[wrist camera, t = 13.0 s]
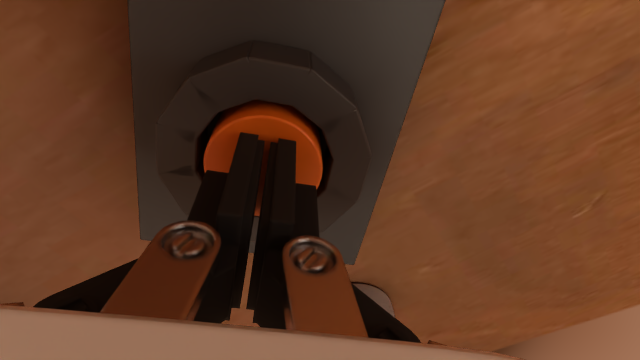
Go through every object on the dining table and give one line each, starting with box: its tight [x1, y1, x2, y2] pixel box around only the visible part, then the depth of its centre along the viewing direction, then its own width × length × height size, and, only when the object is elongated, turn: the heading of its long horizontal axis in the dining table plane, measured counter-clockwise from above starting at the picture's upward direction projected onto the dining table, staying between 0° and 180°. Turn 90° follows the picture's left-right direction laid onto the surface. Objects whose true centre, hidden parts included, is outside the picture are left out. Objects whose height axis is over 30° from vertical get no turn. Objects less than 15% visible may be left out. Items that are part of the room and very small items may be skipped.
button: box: [204, 100, 323, 216], centre depth 13 cm, size 4×4×2 cm
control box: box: [128, 0, 446, 265], centre depth 14 cm, size 11×9×4 cm
